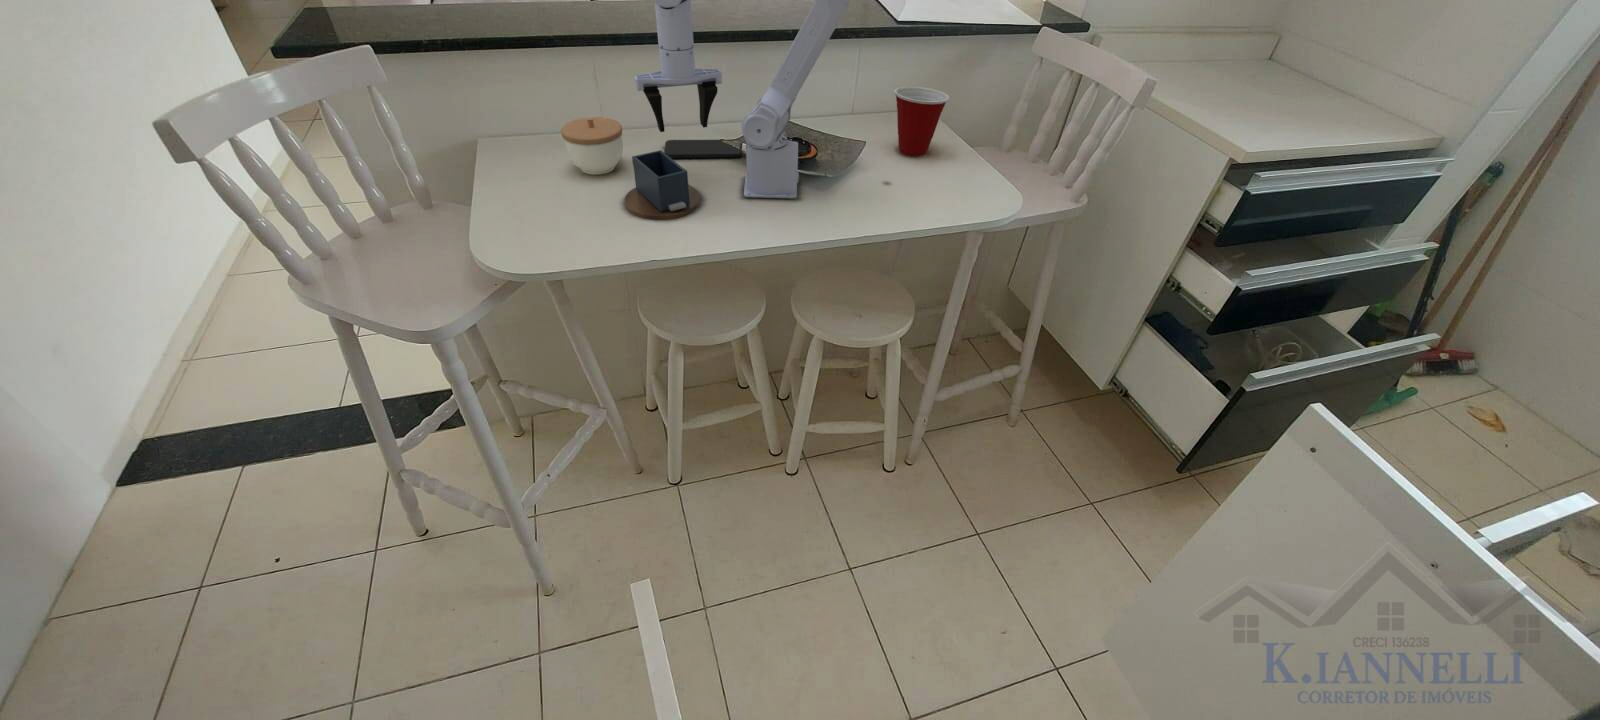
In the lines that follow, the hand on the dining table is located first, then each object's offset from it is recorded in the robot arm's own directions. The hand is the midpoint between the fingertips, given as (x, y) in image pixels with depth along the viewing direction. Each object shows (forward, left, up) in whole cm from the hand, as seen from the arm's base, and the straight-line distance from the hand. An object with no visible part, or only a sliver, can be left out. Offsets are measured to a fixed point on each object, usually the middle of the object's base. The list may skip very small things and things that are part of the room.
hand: (682, 127), depth 118 cm
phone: (-2, -12, -9) cm, 15 cm away
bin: (+3, +10, -8) cm, 14 cm away
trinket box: (+17, -3, -10) cm, 20 cm away
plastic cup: (-45, -15, -10) cm, 48 cm away
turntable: (+3, +10, -9) cm, 14 cm away
